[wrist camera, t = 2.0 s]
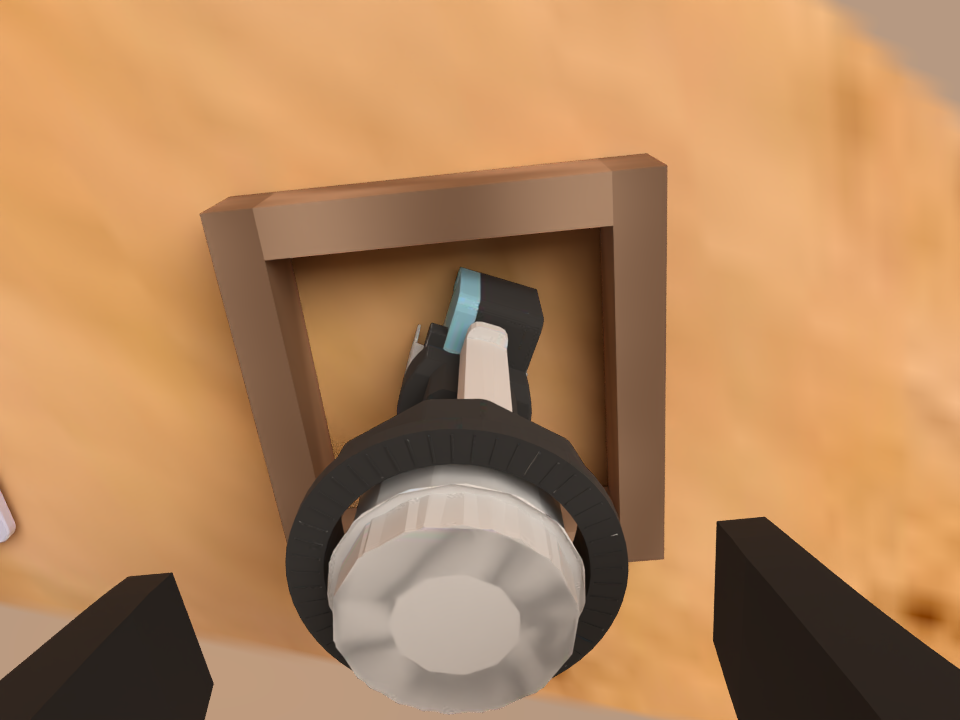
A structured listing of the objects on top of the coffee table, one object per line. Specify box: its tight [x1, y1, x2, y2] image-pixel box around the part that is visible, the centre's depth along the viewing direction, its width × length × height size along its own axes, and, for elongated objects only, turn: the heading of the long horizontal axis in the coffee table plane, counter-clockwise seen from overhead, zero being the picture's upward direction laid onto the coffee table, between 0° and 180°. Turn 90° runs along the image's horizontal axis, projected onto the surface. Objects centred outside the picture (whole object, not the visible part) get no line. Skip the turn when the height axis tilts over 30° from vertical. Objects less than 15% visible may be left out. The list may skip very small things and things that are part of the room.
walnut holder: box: [200, 154, 667, 562], centre depth 18 cm, size 10×11×2 cm
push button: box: [286, 267, 628, 714], centre depth 15 cm, size 7×5×10 cm
